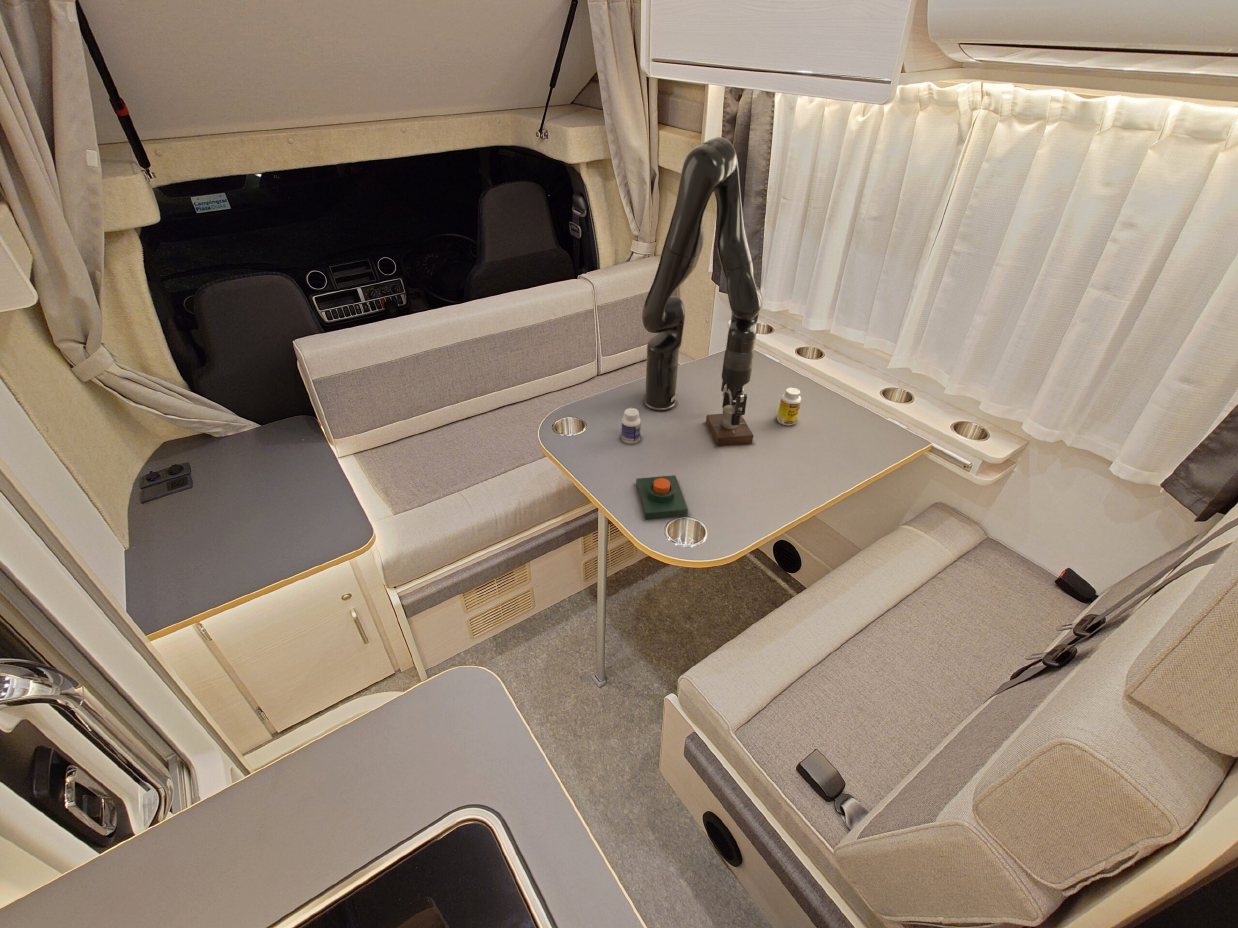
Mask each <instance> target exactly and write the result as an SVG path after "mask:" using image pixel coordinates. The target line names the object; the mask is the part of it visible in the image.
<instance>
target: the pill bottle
mask: <svg viewBox="0 0 1238 928" xmlns="http://www.w3.org/2000/svg"><path fill="white" fill-rule="evenodd" d="M641 426H642V420H641V418H640V412H639V409H637V408H633V407H629V408H626V409H625V410H624V411H623V417H622V419H621V434H620V435H621V437H620V438H621V440H622V442H623V443H625V444H633V445H634V444H636V443H639V442H640V440H641V429H642V427H641Z"/></svg>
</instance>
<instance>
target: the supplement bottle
mask: <svg viewBox="0 0 1238 928" xmlns="http://www.w3.org/2000/svg"><path fill="white" fill-rule="evenodd" d="M801 404H802V397H801V391H800V389H798V388H796V387H788V388H786V390H785V392H784V393H783V394H782V395H781V398H780V402H779V407H778V412H777V416H776V420H777V422H778V423H779V424H781V425H784V426H793V425H795V424H796V423H797V419H798V415H799V411H800V408H801Z"/></svg>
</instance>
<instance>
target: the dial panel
mask: <svg viewBox="0 0 1238 928" xmlns="http://www.w3.org/2000/svg"><path fill="white" fill-rule="evenodd" d="M721 420H722V413H713V414H711V413H710V414H706V418H705V426H706V427H707V429H708V431H709V433H710V435H711V438H712V440H713V441H714V444H715V445H716V447H719V448H720V447H729V446H731V447H732V446H743V445H744V446H745V445H752V444H753V440H754V433H753V432H752V430H751V428H750V427H749V425H748V423H747V422H746V420H745V419H744V417H743V415H741V416H740V422H739V425H738V427H737V428H735V429H727V428H724V427H723V426H722V425H721Z"/></svg>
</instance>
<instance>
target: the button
mask: <svg viewBox="0 0 1238 928" xmlns="http://www.w3.org/2000/svg"><path fill="white" fill-rule="evenodd" d="M653 490H654V491H655V492H656V493H659V494H666V493H668V492H669V491H670V482H669V480H667V479H665V478H658V479H656V480H655V481H654V483H653Z"/></svg>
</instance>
